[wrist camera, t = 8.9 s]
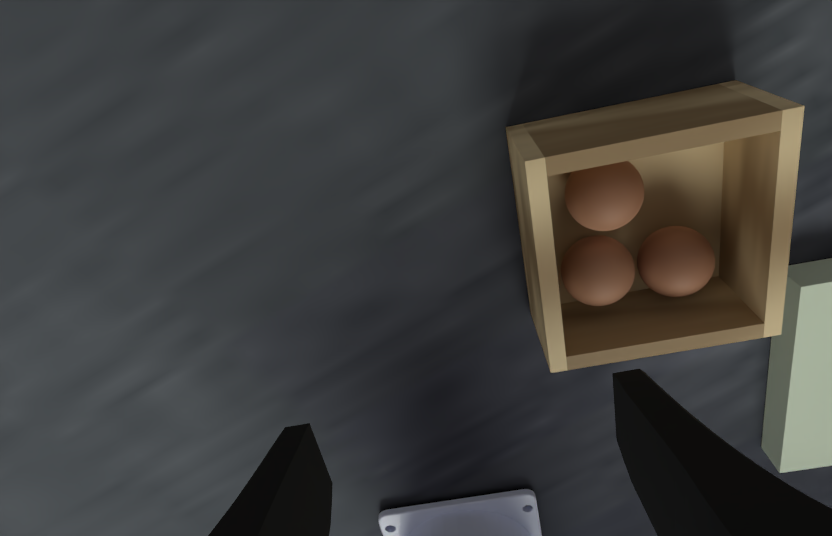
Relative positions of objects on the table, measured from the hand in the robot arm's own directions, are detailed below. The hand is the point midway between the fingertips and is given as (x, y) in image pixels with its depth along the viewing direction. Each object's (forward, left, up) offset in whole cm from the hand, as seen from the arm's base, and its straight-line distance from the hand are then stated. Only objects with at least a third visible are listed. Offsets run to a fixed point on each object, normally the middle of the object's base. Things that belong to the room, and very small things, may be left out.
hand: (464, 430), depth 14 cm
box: (0, -7, -10) cm, 13 cm away
